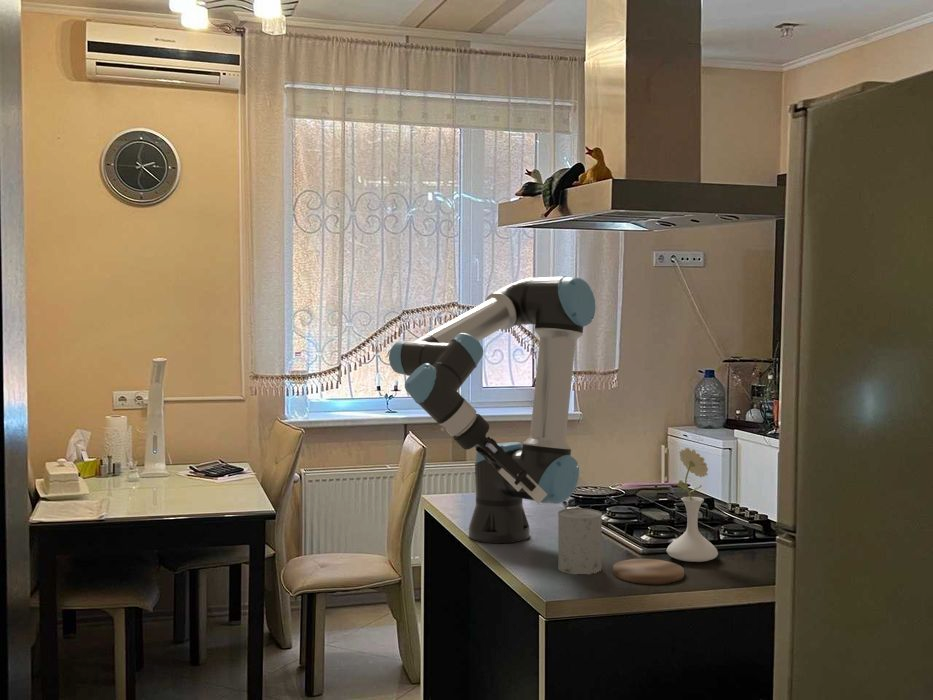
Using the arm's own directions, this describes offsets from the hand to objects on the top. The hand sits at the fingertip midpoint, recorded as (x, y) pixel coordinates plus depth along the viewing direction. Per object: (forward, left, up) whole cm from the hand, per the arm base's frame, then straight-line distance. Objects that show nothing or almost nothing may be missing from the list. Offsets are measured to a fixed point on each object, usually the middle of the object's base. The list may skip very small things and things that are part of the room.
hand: (532, 492), depth 209 cm
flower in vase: (+6, +38, -18) cm, 42 cm away
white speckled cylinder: (+2, +11, -18) cm, 21 cm away
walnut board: (+12, +22, -17) cm, 30 cm away
